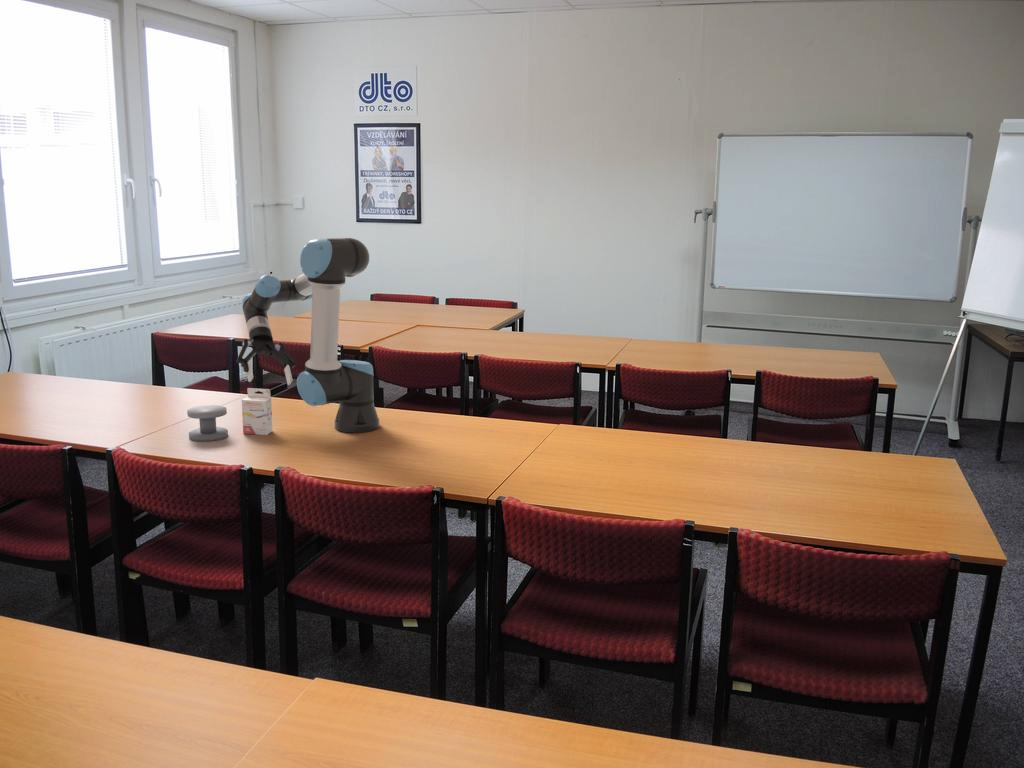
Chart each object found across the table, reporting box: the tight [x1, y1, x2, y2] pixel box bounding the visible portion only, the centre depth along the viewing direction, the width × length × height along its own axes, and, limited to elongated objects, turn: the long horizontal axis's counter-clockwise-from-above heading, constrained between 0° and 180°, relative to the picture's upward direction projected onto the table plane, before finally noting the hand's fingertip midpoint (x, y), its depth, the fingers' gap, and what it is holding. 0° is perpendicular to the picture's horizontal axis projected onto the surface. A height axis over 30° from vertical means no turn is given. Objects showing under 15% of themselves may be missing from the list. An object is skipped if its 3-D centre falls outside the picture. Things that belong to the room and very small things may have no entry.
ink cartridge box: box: [241, 387, 274, 436], centre depth 276 cm, size 9×5×15 cm, turn 83°
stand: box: [186, 404, 229, 442], centre depth 271 cm, size 12×12×9 cm
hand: (270, 381), depth 277 cm, fingers open, 13 cm apart
